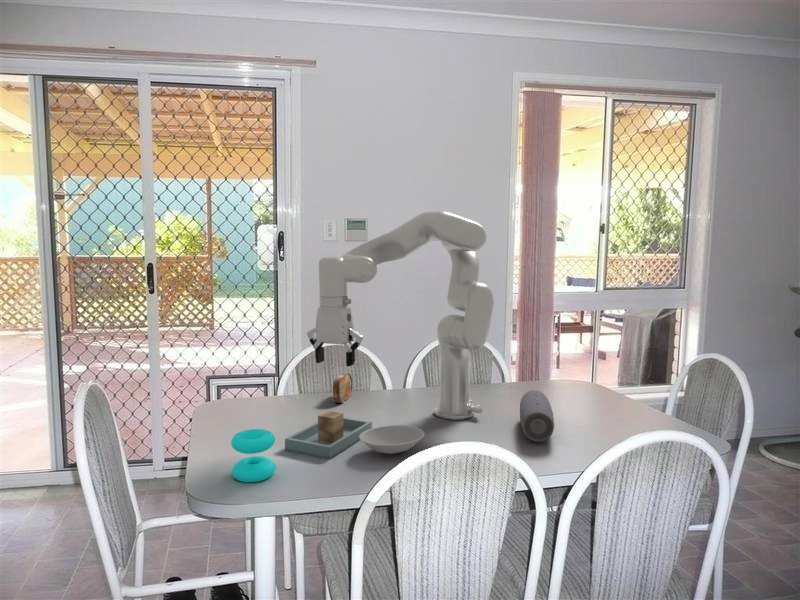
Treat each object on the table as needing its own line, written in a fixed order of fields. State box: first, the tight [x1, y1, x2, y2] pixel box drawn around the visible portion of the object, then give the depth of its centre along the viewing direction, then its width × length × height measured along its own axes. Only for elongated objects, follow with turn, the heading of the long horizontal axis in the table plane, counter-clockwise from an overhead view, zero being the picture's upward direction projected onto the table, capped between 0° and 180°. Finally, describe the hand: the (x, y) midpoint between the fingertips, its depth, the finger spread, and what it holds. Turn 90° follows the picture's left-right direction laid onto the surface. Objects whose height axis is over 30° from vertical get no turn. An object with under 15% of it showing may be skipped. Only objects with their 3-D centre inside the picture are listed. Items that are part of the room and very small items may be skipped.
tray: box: [284, 416, 373, 460], centre depth 160 cm, size 14×22×3 cm, turn 154°
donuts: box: [230, 428, 276, 483], centre depth 137 cm, size 10×10×10 cm
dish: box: [359, 424, 426, 455], centre depth 151 cm, size 18×14×5 cm
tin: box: [332, 372, 353, 404], centre depth 199 cm, size 15×3×8 cm, turn 168°
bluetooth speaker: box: [519, 389, 555, 442], centre depth 168 cm, size 23×9×10 cm, turn 170°
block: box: [317, 410, 344, 443], centre depth 159 cm, size 5×5×7 cm
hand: (335, 363), depth 161 cm, fingers open, 9 cm apart
